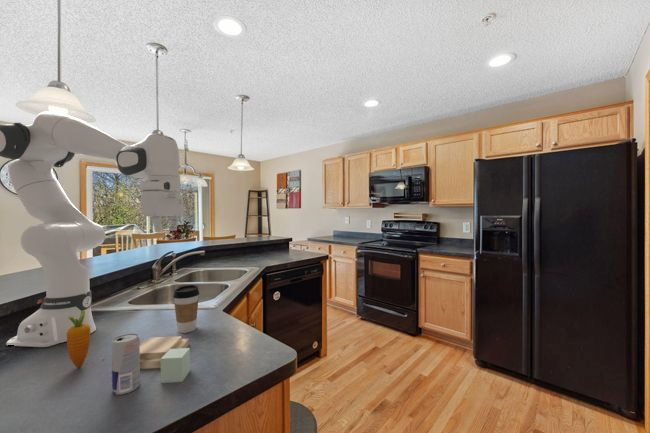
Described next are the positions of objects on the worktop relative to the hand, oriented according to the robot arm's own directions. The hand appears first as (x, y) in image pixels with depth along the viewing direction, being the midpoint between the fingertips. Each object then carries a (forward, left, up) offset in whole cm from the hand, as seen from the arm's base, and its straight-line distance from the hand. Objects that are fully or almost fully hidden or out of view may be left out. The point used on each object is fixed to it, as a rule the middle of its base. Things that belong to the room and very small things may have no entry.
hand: (166, 231), depth 87 cm
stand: (0, -6, -36) cm, 37 cm away
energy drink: (0, -21, -36) cm, 42 cm away
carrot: (-18, -10, -36) cm, 42 cm away
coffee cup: (+1, +13, -36) cm, 38 cm away
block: (+10, -17, -36) cm, 41 cm away
